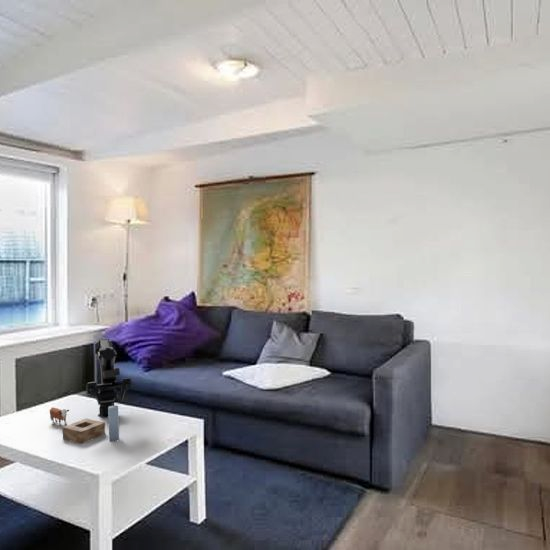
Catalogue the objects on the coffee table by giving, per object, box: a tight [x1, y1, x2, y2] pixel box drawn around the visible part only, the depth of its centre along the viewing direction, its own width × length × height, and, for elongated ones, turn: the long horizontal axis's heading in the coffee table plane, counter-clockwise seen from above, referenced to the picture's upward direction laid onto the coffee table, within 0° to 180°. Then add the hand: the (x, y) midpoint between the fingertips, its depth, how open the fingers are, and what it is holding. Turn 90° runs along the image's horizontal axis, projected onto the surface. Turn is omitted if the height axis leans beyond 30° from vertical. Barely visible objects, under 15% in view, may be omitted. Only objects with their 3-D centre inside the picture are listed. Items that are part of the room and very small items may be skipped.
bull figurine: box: [49, 406, 70, 427], centre depth 214 cm, size 4×13×8 cm, turn 53°
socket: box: [62, 418, 106, 445], centre depth 198 cm, size 12×12×5 cm
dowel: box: [107, 405, 120, 442], centre depth 194 cm, size 4×4×14 cm
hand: (110, 402), depth 201 cm, fingers open, 9 cm apart
